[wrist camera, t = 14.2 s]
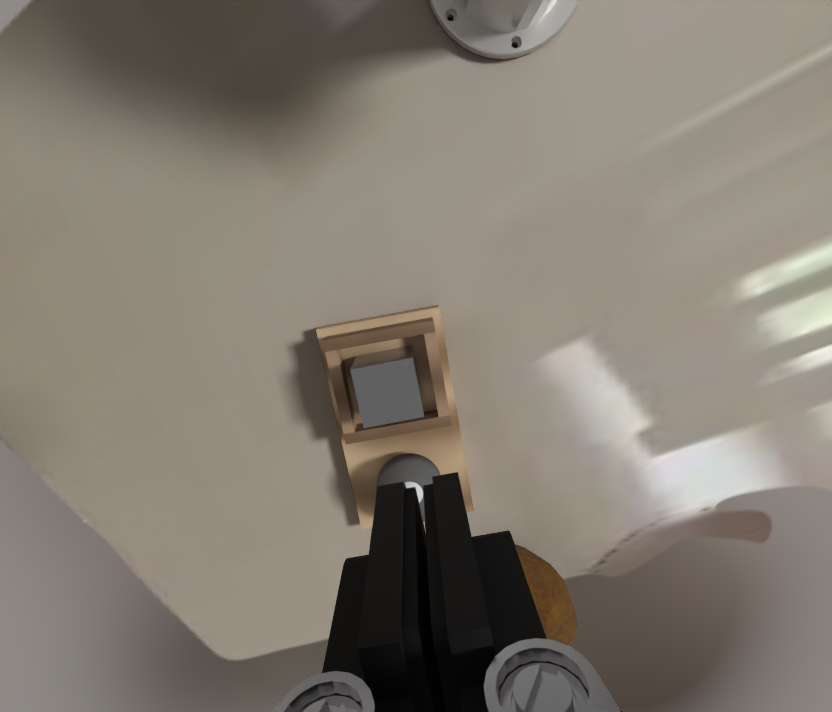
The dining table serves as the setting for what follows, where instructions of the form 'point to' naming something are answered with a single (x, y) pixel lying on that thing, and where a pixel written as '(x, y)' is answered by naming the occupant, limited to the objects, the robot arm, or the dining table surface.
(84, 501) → the dining table surface
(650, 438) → the dining table surface
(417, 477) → the wheel
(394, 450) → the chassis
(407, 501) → the robot arm
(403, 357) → the grey stone cube
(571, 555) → the dining table surface
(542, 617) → the potato
